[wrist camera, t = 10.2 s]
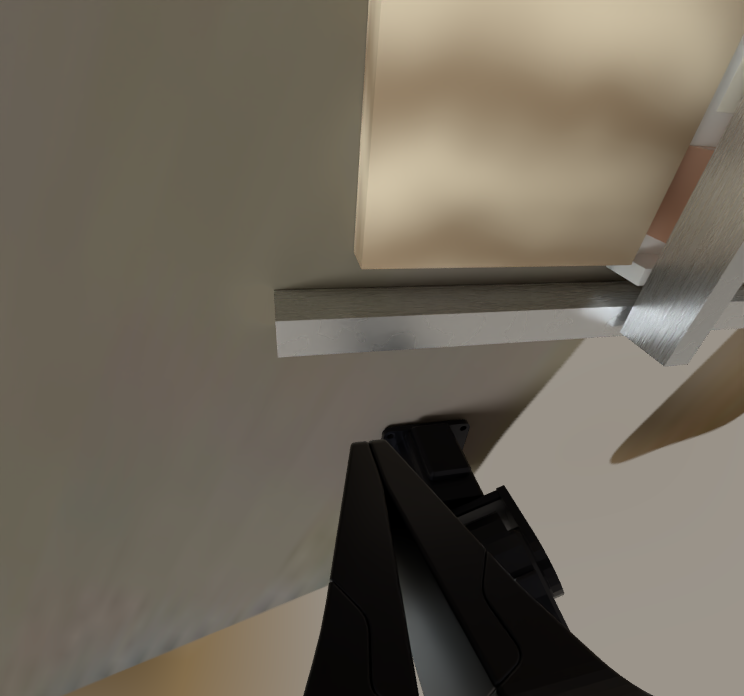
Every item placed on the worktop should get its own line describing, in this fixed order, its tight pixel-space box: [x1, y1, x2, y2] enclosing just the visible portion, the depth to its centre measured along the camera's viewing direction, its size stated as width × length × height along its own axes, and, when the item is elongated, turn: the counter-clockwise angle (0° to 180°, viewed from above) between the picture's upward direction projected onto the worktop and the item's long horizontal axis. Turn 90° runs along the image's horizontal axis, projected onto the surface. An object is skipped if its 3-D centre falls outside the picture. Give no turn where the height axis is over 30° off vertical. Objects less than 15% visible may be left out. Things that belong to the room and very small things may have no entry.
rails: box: [274, 281, 744, 357], centre depth 18 cm, size 21×31×3 cm
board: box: [354, 0, 744, 269], centre depth 17 cm, size 13×15×2 cm
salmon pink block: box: [647, 145, 716, 243], centre depth 21 cm, size 4×4×3 cm
